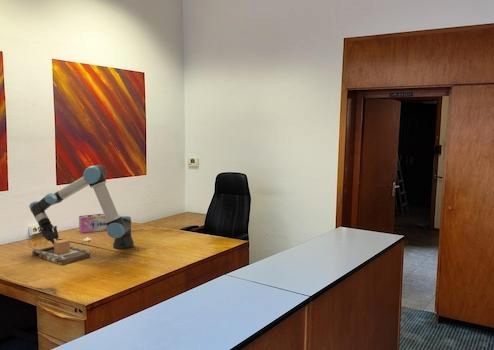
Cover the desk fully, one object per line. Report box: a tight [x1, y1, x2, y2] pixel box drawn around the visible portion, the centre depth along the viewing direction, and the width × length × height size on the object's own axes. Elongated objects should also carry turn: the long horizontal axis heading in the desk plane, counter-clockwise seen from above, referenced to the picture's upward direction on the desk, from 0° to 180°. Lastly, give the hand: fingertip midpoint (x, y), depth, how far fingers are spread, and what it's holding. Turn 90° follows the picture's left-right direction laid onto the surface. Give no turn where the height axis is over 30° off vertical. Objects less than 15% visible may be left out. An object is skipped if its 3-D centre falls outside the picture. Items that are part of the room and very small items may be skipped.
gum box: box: [78, 213, 107, 234], centre depth 372 cm, size 24×8×14 cm, turn 124°
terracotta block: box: [53, 238, 71, 255], centre depth 294 cm, size 6×8×8 cm
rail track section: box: [31, 245, 91, 265], centre depth 296 cm, size 36×20×4 cm, turn 57°
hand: (58, 247), depth 297 cm, fingers closed
